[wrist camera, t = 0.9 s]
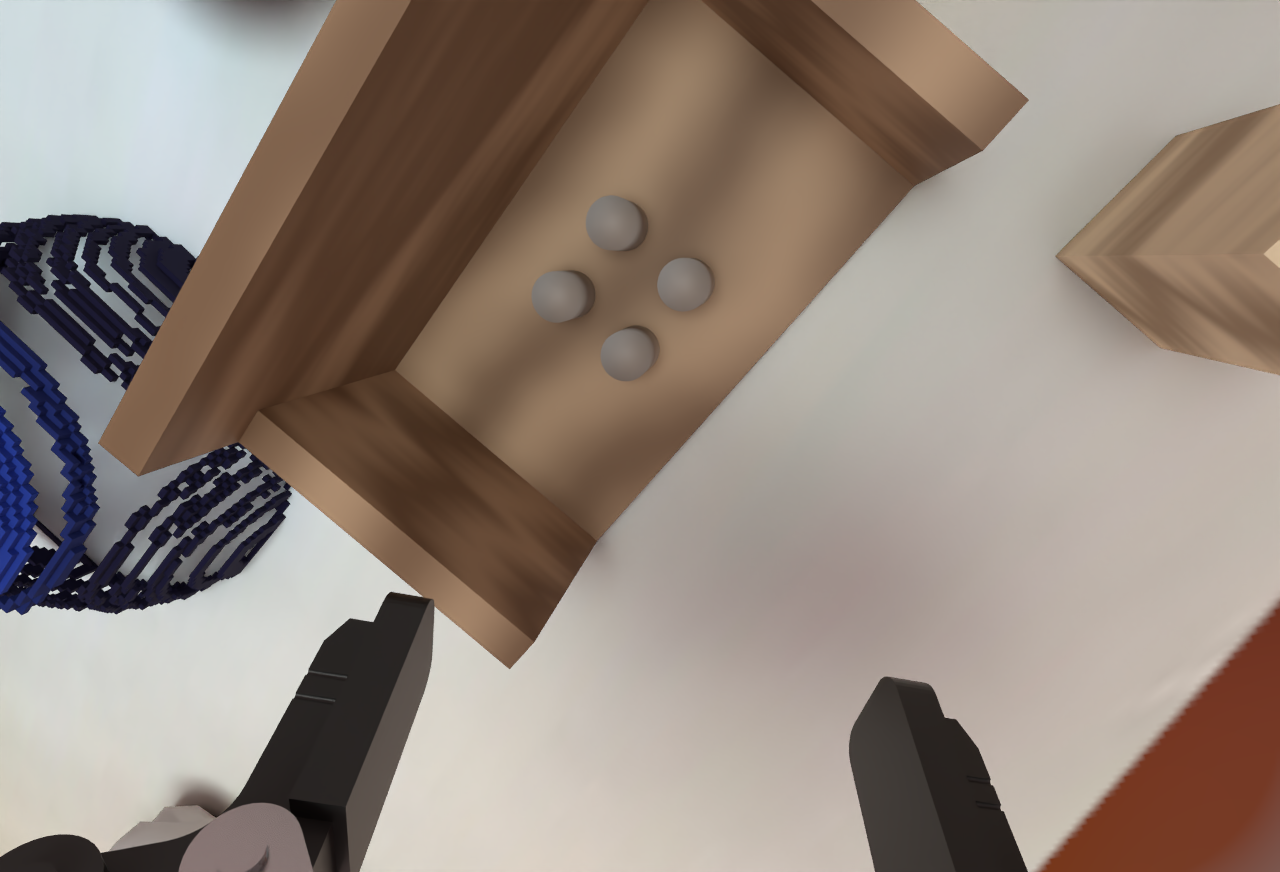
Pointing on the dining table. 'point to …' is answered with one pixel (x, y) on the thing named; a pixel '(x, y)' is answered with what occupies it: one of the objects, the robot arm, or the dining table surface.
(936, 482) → the dining table surface
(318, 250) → the peg frame
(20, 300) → the decorative bowl
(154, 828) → the bottle
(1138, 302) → the oak shelf block
